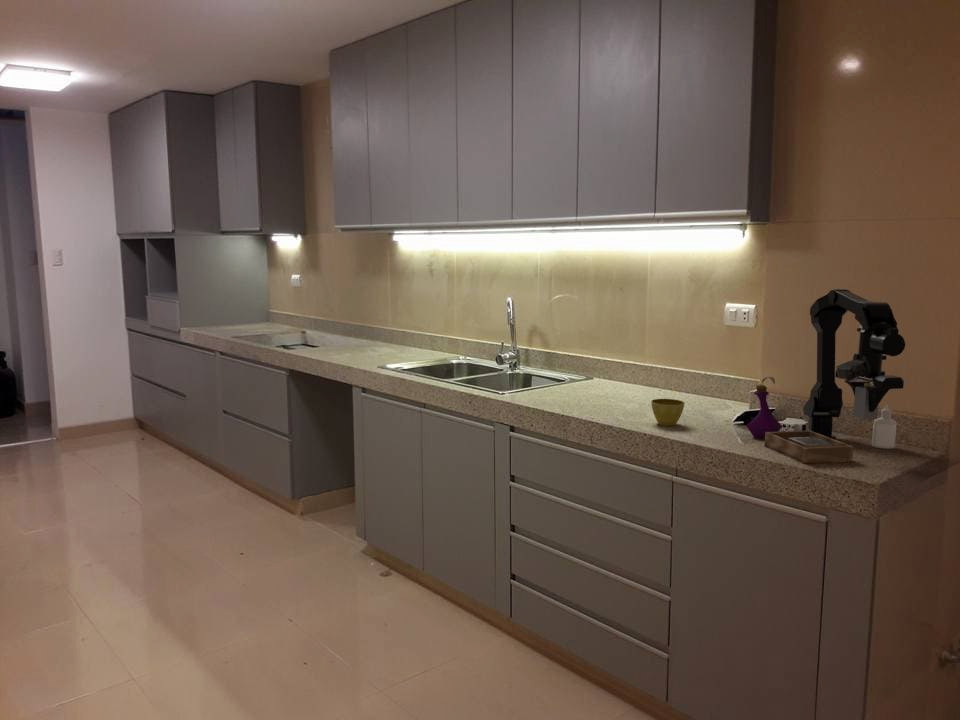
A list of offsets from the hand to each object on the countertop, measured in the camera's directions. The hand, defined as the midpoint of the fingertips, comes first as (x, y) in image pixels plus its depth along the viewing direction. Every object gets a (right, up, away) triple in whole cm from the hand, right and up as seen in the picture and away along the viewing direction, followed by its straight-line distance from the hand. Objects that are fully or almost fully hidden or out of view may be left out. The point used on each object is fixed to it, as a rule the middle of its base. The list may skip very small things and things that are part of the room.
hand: (865, 410), depth 203 cm
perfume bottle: (-18, -10, +23) cm, 31 cm away
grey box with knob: (0, -2, 0) cm, 2 cm away
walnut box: (-13, -12, +5) cm, 19 cm away
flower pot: (-43, -7, +38) cm, 58 cm away
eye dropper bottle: (+12, -12, +14) cm, 21 cm away
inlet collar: (-13, -12, +4) cm, 18 cm away
